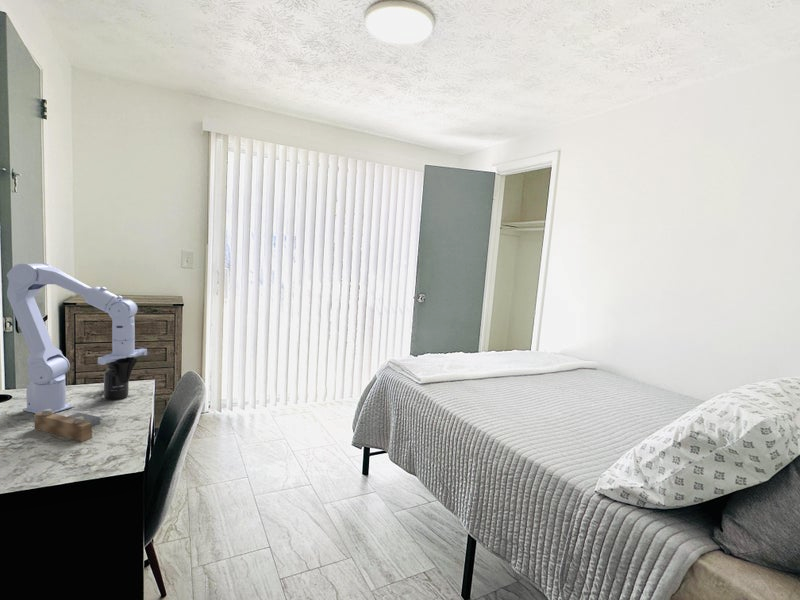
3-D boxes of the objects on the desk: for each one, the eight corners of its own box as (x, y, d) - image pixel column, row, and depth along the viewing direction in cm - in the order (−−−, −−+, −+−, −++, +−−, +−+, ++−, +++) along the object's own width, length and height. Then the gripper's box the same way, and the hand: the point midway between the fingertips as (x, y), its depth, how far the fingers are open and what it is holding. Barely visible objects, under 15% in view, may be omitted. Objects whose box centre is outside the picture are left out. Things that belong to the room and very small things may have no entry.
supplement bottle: (116, 401, 132) (115, 365, 131) (98, 398, 133) (98, 363, 132) (133, 395, 139) (133, 360, 137) (116, 392, 140) (116, 358, 139)
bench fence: (34, 428, 110) (34, 410, 109) (45, 425, 112) (44, 407, 112) (82, 441, 104) (81, 421, 104) (92, 437, 107) (91, 418, 106)
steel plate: (56, 428, 111) (56, 420, 111) (78, 420, 117) (78, 412, 117) (78, 433, 109) (78, 424, 109) (100, 425, 115) (99, 416, 115)
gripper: (109, 344, 117) (110, 390, 118) (154, 336, 130) (154, 377, 132) (92, 341, 119) (92, 387, 120) (137, 334, 133) (137, 374, 134)
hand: (123, 382), depth 126 cm, fingers closed
